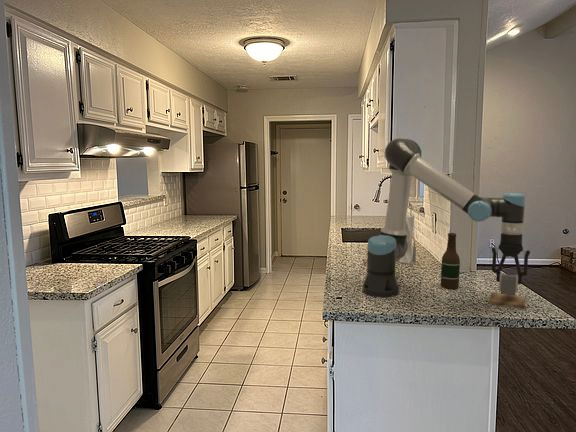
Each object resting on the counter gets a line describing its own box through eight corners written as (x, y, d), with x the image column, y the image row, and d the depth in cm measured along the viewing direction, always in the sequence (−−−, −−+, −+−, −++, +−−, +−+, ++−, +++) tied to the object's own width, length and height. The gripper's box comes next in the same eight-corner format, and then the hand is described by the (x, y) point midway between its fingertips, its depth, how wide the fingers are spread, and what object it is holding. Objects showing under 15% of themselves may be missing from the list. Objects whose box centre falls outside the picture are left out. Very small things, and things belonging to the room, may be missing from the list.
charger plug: (500, 293, 170) (501, 278, 169) (501, 287, 179) (502, 272, 178) (514, 295, 168) (515, 280, 167) (515, 288, 176) (516, 274, 176)
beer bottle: (462, 288, 189) (465, 234, 186) (445, 289, 188) (448, 235, 185) (452, 283, 197) (455, 231, 194) (436, 284, 196) (439, 232, 192)
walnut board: (489, 303, 171) (489, 300, 170) (491, 294, 181) (491, 292, 181) (524, 308, 165) (524, 305, 165) (523, 299, 176) (524, 296, 175)
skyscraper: (411, 265, 230) (413, 212, 226) (396, 263, 234) (397, 211, 231) (416, 262, 237) (418, 211, 233) (401, 260, 241) (403, 210, 238)
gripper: (485, 232, 170) (482, 290, 173) (538, 236, 162) (534, 296, 165) (486, 229, 177) (483, 285, 180) (537, 233, 168) (533, 291, 171)
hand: (508, 290), depth 172 cm, fingers closed on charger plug, 5 cm apart
